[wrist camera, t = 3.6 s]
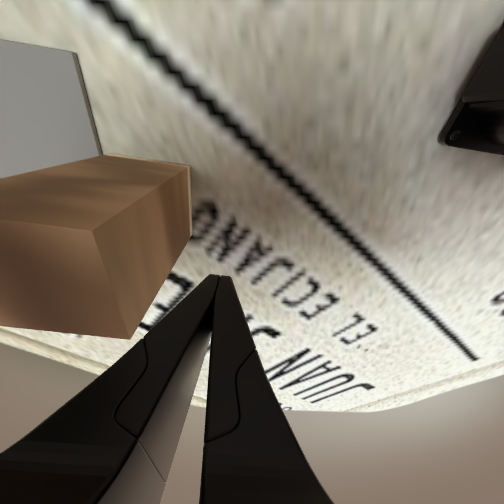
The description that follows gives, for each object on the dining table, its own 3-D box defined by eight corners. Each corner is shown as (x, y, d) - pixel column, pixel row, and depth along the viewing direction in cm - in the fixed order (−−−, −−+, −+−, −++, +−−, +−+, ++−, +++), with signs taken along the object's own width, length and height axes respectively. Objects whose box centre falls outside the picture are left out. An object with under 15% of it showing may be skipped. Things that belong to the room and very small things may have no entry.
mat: (75, 53, 10) (71, 51, 10) (131, 269, 18) (130, 271, 17) (-189, 7, 9) (-201, 4, 9) (-11, 252, 17) (-15, 254, 17)
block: (190, 165, 13) (91, 230, 5) (192, 233, 16) (130, 339, 8) (110, 153, 12) (-112, 204, 5) (127, 224, 15) (0, 325, 8)
